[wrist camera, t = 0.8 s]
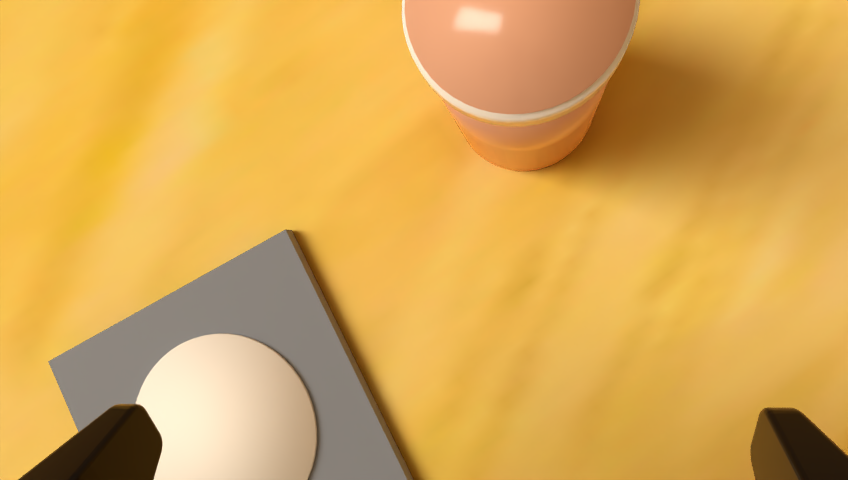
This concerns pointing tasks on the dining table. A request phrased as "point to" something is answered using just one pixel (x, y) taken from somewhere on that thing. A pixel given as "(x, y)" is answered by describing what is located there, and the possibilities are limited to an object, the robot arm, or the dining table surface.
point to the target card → (240, 377)
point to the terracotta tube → (520, 69)
